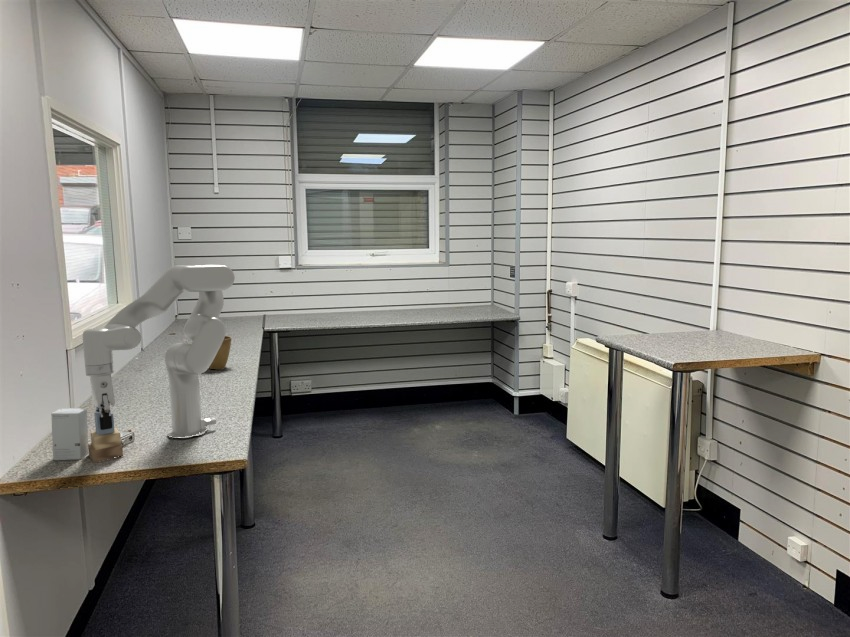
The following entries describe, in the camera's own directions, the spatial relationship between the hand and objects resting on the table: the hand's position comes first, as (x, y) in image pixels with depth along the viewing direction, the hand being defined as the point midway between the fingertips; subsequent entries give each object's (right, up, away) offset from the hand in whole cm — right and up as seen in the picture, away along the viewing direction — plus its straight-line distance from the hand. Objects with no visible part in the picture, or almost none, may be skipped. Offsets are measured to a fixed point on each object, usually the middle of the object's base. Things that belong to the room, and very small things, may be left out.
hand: (104, 425), depth 183 cm
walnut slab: (0, -10, +1) cm, 10 cm away
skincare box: (-10, -10, +1) cm, 14 cm away
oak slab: (0, -6, +1) cm, 6 cm away
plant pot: (-8, +7, +123) cm, 124 cm away
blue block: (0, -2, 0) cm, 2 cm away
